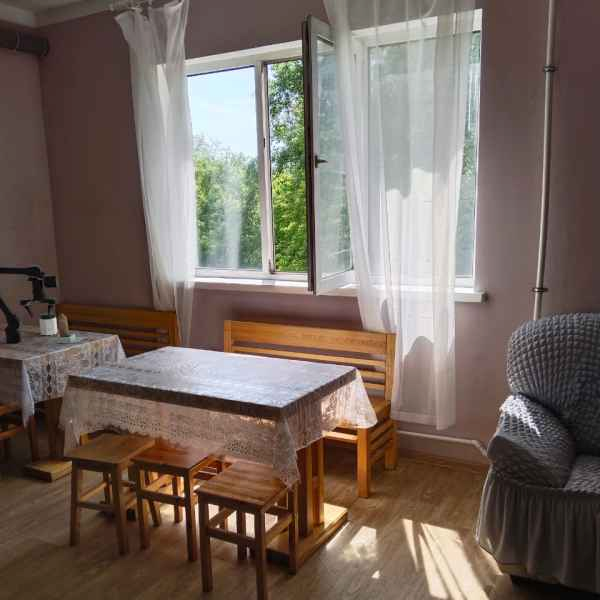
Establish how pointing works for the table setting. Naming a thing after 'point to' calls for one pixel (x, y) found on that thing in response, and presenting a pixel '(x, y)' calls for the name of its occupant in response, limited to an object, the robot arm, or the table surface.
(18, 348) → the table surface
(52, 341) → the well board
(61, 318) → the pepper mill
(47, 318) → the jar
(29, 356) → the table surface
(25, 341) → the table surface
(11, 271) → the robot arm
